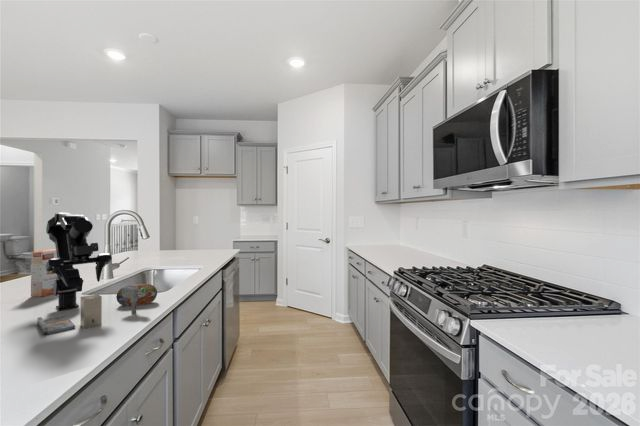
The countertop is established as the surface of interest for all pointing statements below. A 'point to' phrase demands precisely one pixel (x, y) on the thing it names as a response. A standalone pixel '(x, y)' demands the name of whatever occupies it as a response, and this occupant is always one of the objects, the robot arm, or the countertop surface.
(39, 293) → the cracker box
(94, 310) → the block
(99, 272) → the robot arm
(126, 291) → the grey t-shaped piece
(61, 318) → the plate
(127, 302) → the tin
